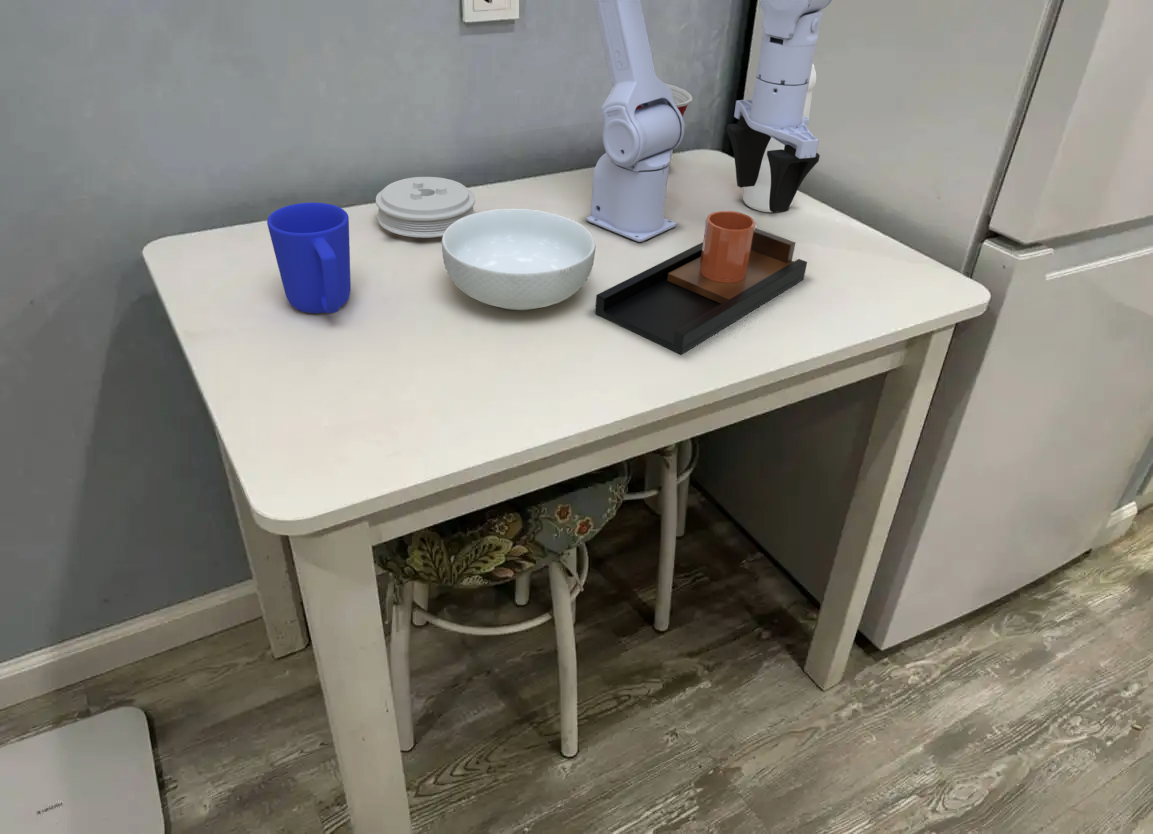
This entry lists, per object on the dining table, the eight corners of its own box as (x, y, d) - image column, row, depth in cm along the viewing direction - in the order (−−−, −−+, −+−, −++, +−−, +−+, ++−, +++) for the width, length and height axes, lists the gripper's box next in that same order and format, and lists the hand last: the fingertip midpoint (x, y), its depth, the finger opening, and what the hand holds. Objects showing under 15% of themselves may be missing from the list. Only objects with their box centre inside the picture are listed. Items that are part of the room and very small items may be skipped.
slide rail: (594, 313, 100) (596, 294, 98) (722, 248, 115) (724, 230, 114) (681, 355, 93) (683, 335, 92) (803, 279, 109) (807, 261, 107)
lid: (493, 232, 116) (492, 195, 113) (403, 252, 110) (400, 214, 107) (448, 198, 124) (446, 163, 121) (362, 215, 118) (358, 179, 115)
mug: (299, 344, 92) (285, 255, 86) (273, 292, 100) (259, 208, 94) (377, 328, 95) (369, 241, 89) (346, 279, 103) (336, 197, 98)
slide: (666, 280, 105) (669, 254, 103) (733, 246, 114) (737, 221, 112) (729, 307, 100) (733, 280, 98) (793, 269, 109) (798, 243, 107)
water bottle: (795, 215, 125) (833, 24, 110) (745, 212, 125) (776, 21, 110) (786, 195, 131) (821, 12, 116) (738, 193, 130) (767, 9, 116)
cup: (690, 271, 105) (697, 219, 101) (717, 257, 108) (724, 207, 105) (729, 287, 102) (737, 234, 98) (755, 272, 106) (764, 221, 102)
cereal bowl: (467, 341, 93) (465, 281, 89) (428, 272, 106) (425, 216, 102) (615, 318, 99) (620, 259, 95) (562, 254, 111) (564, 200, 107)
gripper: (852, 95, 92) (825, 218, 100) (779, 59, 103) (760, 172, 111) (794, 99, 90) (771, 225, 98) (725, 62, 101) (710, 177, 109)
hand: (761, 197), depth 105 cm, fingers open, 7 cm apart
